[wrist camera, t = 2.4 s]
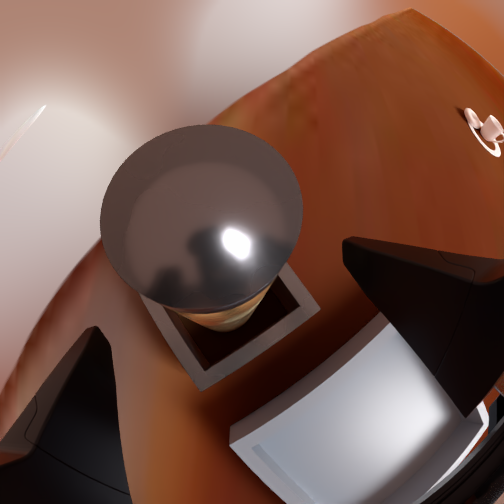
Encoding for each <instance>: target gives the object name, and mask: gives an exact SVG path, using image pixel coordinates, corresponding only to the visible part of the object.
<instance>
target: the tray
mask: <svg viewBox="0 0 504 504" xmlns="http://www.w3.org/2000/svg"><path fill="white" fill-rule="evenodd" d="M434 377H435V376H433V375H432V373H431V372H430V371H429V370H428V368H427V367H426V366H425V365H424V363H423V362H422V361H421V359H420V358H419V357H418V356H417V355H416V353H415V352H414V351H413V350H412V348H411V347H410V346H409V345H408V343H407V342H406V341H405V340H404V339H403V337H402V336H401V335H400V334H399V333H398V331H397V330H396V329H395V328H394V327H393V326H392V324H391V323H390V322H389V321H388V320H387V318H386V317H385V316H384V315H383V314H382V313H381V312H379V313H378V314H377V315H376V316H375V317H374V318H373V319H372V320H371V321H370V322H369V323H368V324H367V325H366V326H365V327H364V328H362V329H361V330H360V331H359V332H358V333H357V334H356V335H355V336H354V337H352V338H351V339H350V340H349V341H348V342H347V343H346V344H344V345H343V346H342V347H341V348H340V349H338V350H337V351H336V352H335V353H334V354H332V355H331V356H330V357H329V358H328V359H326V360H325V361H324V362H323V363H321V364H320V365H319V366H318V367H316V368H315V369H314V370H312V371H311V372H310V373H309V374H307V375H306V376H305V377H303V378H302V379H301V380H299V381H298V382H297V383H295V384H294V385H292V386H291V387H290V388H288V389H287V390H285V391H284V392H283V393H281V394H280V395H278V396H277V397H275V398H274V399H272V400H271V401H270V402H268V403H267V404H265V405H263V406H262V407H260V408H259V409H257V410H256V411H254V412H253V413H251V414H249V415H248V416H246V417H245V418H243V419H241V420H240V421H238V422H236V423H235V424H233V425H231V426H230V440H229V446H230V447H231V448H232V449H233V450H234V451H235V452H236V453H237V455H238V456H239V457H240V458H241V459H242V460H243V461H244V462H245V463H246V464H247V465H248V466H249V468H250V469H251V470H252V471H253V472H254V473H255V474H256V475H257V476H258V477H259V478H260V479H261V480H262V481H263V482H264V483H265V484H266V485H267V486H268V487H269V488H270V489H271V490H273V491H274V492H275V493H276V494H277V495H278V496H279V497H280V498H281V499H282V500H283V501H285V502H286V503H287V504H412V503H413V502H415V501H416V500H417V499H419V498H420V497H421V496H423V495H424V494H425V493H427V492H428V491H429V490H431V489H432V488H433V487H434V486H436V485H437V484H438V483H439V482H440V481H442V480H443V479H444V478H445V477H446V476H447V475H449V474H450V473H451V472H452V471H453V470H454V469H455V468H456V467H457V466H458V465H459V464H460V463H461V461H462V460H463V459H464V458H465V456H466V455H467V454H468V453H469V451H470V450H471V449H472V448H473V446H474V445H475V444H476V442H477V441H478V440H479V438H480V437H481V435H482V434H483V432H484V431H485V430H486V428H487V427H488V425H489V416H488V413H487V411H486V408H485V405H484V403H483V401H482V402H481V403H480V404H479V405H478V406H477V407H476V409H475V410H474V411H473V412H472V413H471V414H470V415H469V416H468V417H467V418H464V416H463V415H462V414H461V413H460V411H459V410H458V408H457V407H456V406H455V404H454V403H453V401H452V400H451V399H450V397H449V396H448V395H447V393H446V392H445V391H444V389H443V388H442V387H441V385H440V384H439V383H438V381H437V380H436V379H435V378H434Z"/></svg>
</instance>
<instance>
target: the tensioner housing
mask: <svg viewBox="0 0 504 504" xmlns="http://www.w3.org/2000/svg"><path fill="white" fill-rule="evenodd" d="M270 289H271V290H272V291H273V293H274V294H275V296H276V297H277V298H278V300H279V301H280V303H281V304H282V305H283V307H284V308H285V309H286V311H287V312H288V313H287V314H286V315H284V316H283V317H282V318H280V319H279V320H277V321H276V322H275V323H273V324H272V325H270V326H269V327H268V328H266V329H265V330H263V331H262V332H260V333H259V334H257V335H256V336H255V337H253V338H252V339H250V340H249V341H247V342H246V343H244V344H243V345H241V346H240V347H238V348H237V349H235V350H234V351H232V352H231V353H229V354H228V355H226V356H225V357H223V358H221V359H220V360H218V361H217V362H215V363H214V364H212V365H210V364H209V362H208V361H207V360H206V358H205V357H204V355H203V354H202V352H201V351H200V349H199V348H198V346H197V345H196V343H195V342H194V340H193V339H192V337H191V336H190V334H189V333H188V331H187V330H186V328H185V327H184V325H183V323H182V322H181V320H180V319H179V317H178V315H177V314H176V312H174V311H172V310H170V309H168V308H166V307H164V306H162V305H160V304H158V303H156V302H154V301H153V300H151V299H149V298H147V297H145V296H143V295H142V294H140V293H139V292H138V293H139V295H140V297H141V299H142V300H143V302H144V304H145V306H146V308H147V309H148V311H149V313H150V315H151V316H152V318H153V320H154V321H155V323H156V325H157V326H158V328H159V330H160V331H161V333H162V335H163V336H164V338H165V340H166V341H167V343H168V344H169V346H170V348H171V349H172V351H173V352H174V354H175V355H176V357H177V358H178V360H179V361H180V363H181V364H182V366H183V367H184V369H185V370H186V372H187V373H188V375H189V376H190V378H191V379H192V380H193V382H194V383H195V385H196V386H197V387H198V389H199V390H200V392H202V391H203V390H205V389H207V388H208V387H210V386H212V385H213V384H215V383H217V382H218V381H220V380H221V379H223V378H225V377H226V376H228V375H229V374H231V373H232V372H234V371H235V370H237V369H238V368H240V367H242V366H243V365H245V364H246V363H248V362H249V361H251V360H252V359H253V358H255V357H256V356H258V355H259V354H261V353H262V352H264V351H265V350H267V349H268V348H269V347H271V346H272V345H274V344H275V343H276V342H278V341H279V340H281V339H282V338H283V337H285V336H286V335H288V334H289V333H290V332H292V331H293V330H294V329H296V328H297V327H298V326H300V325H301V324H302V323H304V322H305V321H306V320H308V319H309V318H310V317H311V316H313V315H314V314H315V313H317V312H318V311H319V310H320V307H319V306H318V304H317V303H316V302H315V300H314V299H313V297H312V296H311V295H310V293H309V292H308V291H307V289H306V288H305V287H304V285H303V284H302V282H301V281H300V280H299V278H298V277H297V276H296V274H295V273H294V272H293V270H292V269H291V268H290V266H289V265H288V264H287V262H286V263H285V264H284V266H283V267H282V269H281V271H280V272H279V274H278V275H277V277H276V278H275V280H274V282H273V283H272V285H271V286H270Z"/></svg>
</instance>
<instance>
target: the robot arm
mask: <svg viewBox="0 0 504 504" xmlns="http://www.w3.org/2000/svg"><path fill="white" fill-rule="evenodd" d="M342 253H343V263H344V265H345V267H346V268H347V269H348V271H349V272H350V274H351V275H352V276H353V278H354V279H355V280H356V282H357V283H358V285H359V286H360V287H361V289H362V290H363V292H364V293H365V294H366V295H367V297H368V298H369V299H370V300H371V301H372V302H373V304H374V305H375V306H376V307H377V308H378V309H379V310H380V312H381V313H382V314H383V315H384V316H385V317H386V318H387V320H388V321H389V322H390V323H391V324H392V326H393V327H394V328H395V329H396V330H397V331H398V333H399V334H400V335H401V336H402V337H403V339H404V340H405V341H406V342H407V343H408V345H409V346H410V347H411V348H412V350H413V351H414V352H415V353H416V355H417V356H418V357H419V358H420V359H421V361H422V362H423V363H424V365H425V366H426V367H427V368H428V370H429V371H430V372H431V373H432V375H433V376H435V377H434V378H435V379H436V380H437V381H438V383H439V384H440V385H441V387H442V388H443V389H444V391H445V392H446V393H447V395H448V396H449V397H450V399H451V400H452V401H453V403H454V404H455V406H456V407H457V408H458V410H459V411H460V413H461V414H462V415H463V416H464V418H467V417H468V416H469V415H470V414H471V413H472V412H473V411H474V410H475V409H476V407H477V406H478V405H479V404H480V403H481V402H482V401H483V400H484V399H485V397H486V396H487V395H488V394H489V393H490V392H491V390H492V389H493V388H495V389H496V390H497V391H498V392H499V393H500V395H499V396H498V397H497V398H496V400H495V401H494V402H493V403H492V404H491V406H490V407H489V428H488V436H487V437H486V438H485V439H484V440H483V441H482V442H481V443H480V444H479V445H478V447H477V448H476V449H475V450H474V451H473V452H472V453H471V454H470V455H469V456H468V457H467V458H466V459H465V460H464V461H463V462H462V463H461V464H460V465H459V466H457V467H456V468H455V469H454V470H453V471H452V472H451V473H450V474H449V475H447V476H446V477H445V478H444V479H443V480H442V481H440V482H439V483H438V484H437V485H436V486H434V487H433V488H432V489H431V490H429V491H428V492H427V493H425V494H424V495H423V496H421V497H420V498H419V499H417V500H416V501H415V502H413V503H412V504H504V259H492V258H484V257H477V256H469V255H462V254H456V253H450V252H444V251H437V250H433V249H427V248H422V247H416V246H410V245H404V244H398V243H392V242H386V241H380V240H374V239H367V238H361V237H354V236H352V237H349V238H346V239H344V240H343V242H342ZM0 504H133V503H132V499H131V496H130V491H129V487H128V482H127V477H126V472H125V466H124V460H123V454H122V447H121V439H120V431H119V421H118V410H117V395H116V382H115V375H114V368H113V360H112V351H111V346H110V343H109V342H108V340H107V339H106V337H105V336H104V334H103V333H102V332H101V330H100V329H99V328H98V327H97V326H93V327H90V328H87V329H86V330H85V331H84V332H83V333H82V335H81V336H80V337H79V338H78V339H77V341H76V342H75V343H74V344H73V346H72V347H71V348H70V349H69V351H68V352H67V353H66V354H65V356H64V357H63V358H62V359H61V361H60V362H59V363H58V364H57V366H56V367H55V368H54V370H53V371H52V372H51V374H50V375H49V376H48V378H47V379H46V380H45V382H44V383H43V384H42V386H41V387H40V388H39V390H38V391H37V393H36V396H34V397H33V398H32V400H31V401H30V402H29V404H28V405H27V407H26V408H25V409H24V411H23V412H22V414H21V415H20V416H19V418H18V419H17V420H16V422H15V423H14V424H13V425H12V427H11V428H10V429H9V431H8V432H7V433H6V435H5V436H4V438H3V439H2V440H1V442H0Z"/></svg>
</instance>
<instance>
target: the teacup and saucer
mask: <svg viewBox="0 0 504 504" xmlns="http://www.w3.org/2000/svg"><path fill="white" fill-rule="evenodd" d="M464 114H465V117H466V119H467V121H468V124H469V127H470V129H471V130H472V132H473V134H474V135H475V137H476V138H477V139H478V141H479V142H480V143H481V144H482V145H483V147H484V148H485V149H486V150H487V151H489V152H490V153H491V154H492V155H494V156H496V157H499V156H500V154H501V152H500V148H499V145H498V143H501V142H503V141H504V140H502V141H496V139H495V138H496V137H497V136H498V135H500V134H501V135H503V136H504V134H503V133H502V132H503V128H502V126H501V125H500V123H499V122H498V121H497V119H496V118H494V117H493V116H492V115H490V116H489V117H488V119H487V120H486V121H485V123H484V124H483V123H482V122H480V121H479V119H478V117H477V115H476V114H475V113H474V112H473V111H472V110H471V109H470V108H466V109H465V110H464ZM480 126H482V127H481V130H480V133H481V135H482V136H483V138H484V139H485V140H486V141H491V142H494V143H495V147H496V150H495V151H493V150H491V149H489V148H488V147H487V146H486V145H485V144H484V143H483V142H482V141H481V140H480V138H479V137H478V135H477V134H476V132H475V130H474V128H476V129H479V128H480ZM473 127H474V128H473Z"/></svg>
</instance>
